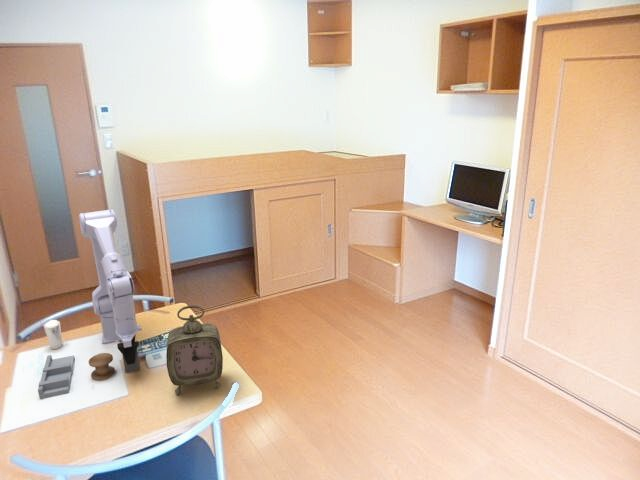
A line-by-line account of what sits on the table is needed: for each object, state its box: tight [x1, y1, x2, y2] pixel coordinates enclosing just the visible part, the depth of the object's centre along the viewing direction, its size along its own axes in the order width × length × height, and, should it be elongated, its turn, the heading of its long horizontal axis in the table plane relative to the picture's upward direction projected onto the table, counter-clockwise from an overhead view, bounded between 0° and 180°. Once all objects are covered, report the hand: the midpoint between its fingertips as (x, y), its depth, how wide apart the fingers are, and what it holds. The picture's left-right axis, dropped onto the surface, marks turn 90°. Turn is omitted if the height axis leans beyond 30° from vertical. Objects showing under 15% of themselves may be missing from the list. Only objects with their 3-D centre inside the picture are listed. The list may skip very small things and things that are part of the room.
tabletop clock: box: [165, 304, 224, 395], centre depth 126 cm, size 14×9×25 cm, turn 105°
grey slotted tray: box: [37, 354, 76, 400], centre depth 133 cm, size 18×7×3 cm, turn 22°
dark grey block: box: [122, 349, 141, 374], centre depth 137 cm, size 4×4×6 cm
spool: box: [88, 352, 116, 381], centre depth 134 cm, size 6×6×5 cm
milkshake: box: [39, 319, 63, 350], centre depth 147 cm, size 5×5×10 cm
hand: (130, 356), depth 137 cm, fingers open, 7 cm apart
